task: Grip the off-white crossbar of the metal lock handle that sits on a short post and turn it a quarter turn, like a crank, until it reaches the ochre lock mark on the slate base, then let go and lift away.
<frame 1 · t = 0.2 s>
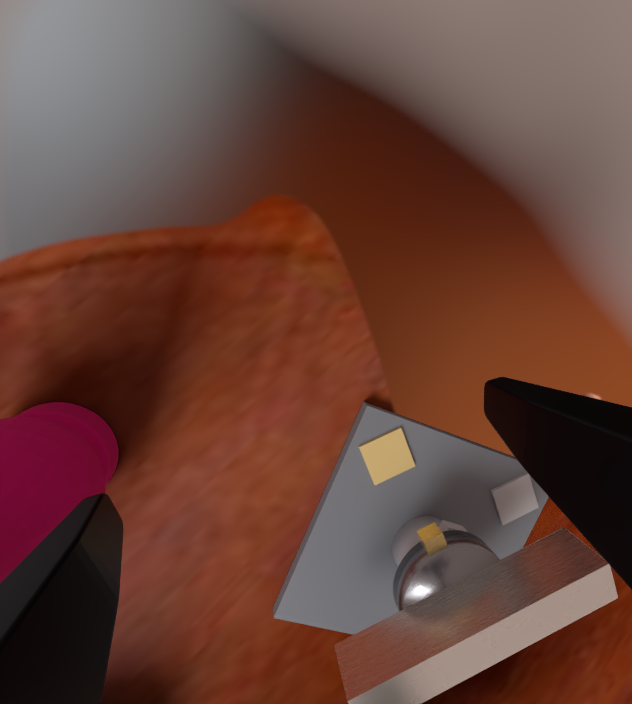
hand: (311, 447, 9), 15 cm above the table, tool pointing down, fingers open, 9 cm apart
pepper mill: (63, 450, 23), on the table
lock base: (416, 536, 28), on the table
lock handle: (462, 603, 22), point 6 cm above the table, hinge at 0.0°
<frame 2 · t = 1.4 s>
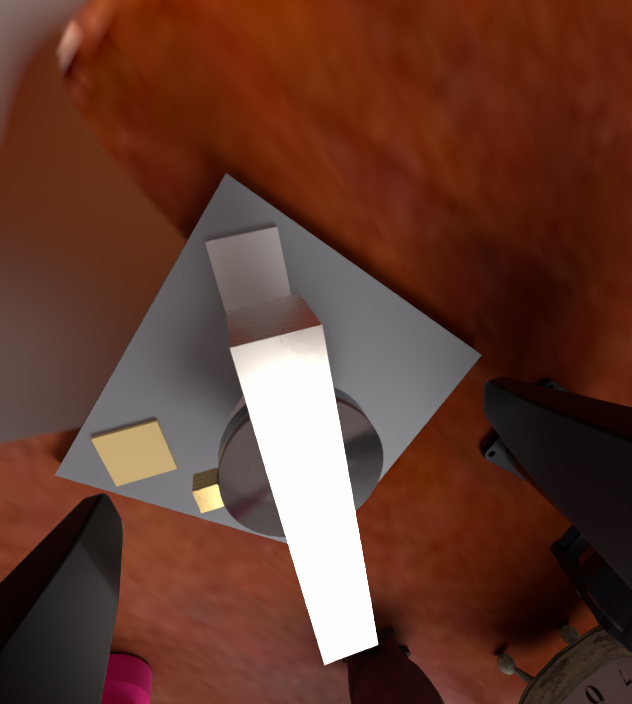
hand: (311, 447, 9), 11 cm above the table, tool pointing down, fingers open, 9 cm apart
tabletop clock: (551, 621, 39), on the table
pepper mill: (104, 678, 27), on the table
mate gourd: (378, 650, 33), on the table
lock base: (282, 402, 21), on the table
lock handle: (296, 491, 15), point 6 cm above the table, hinge at 0.0°
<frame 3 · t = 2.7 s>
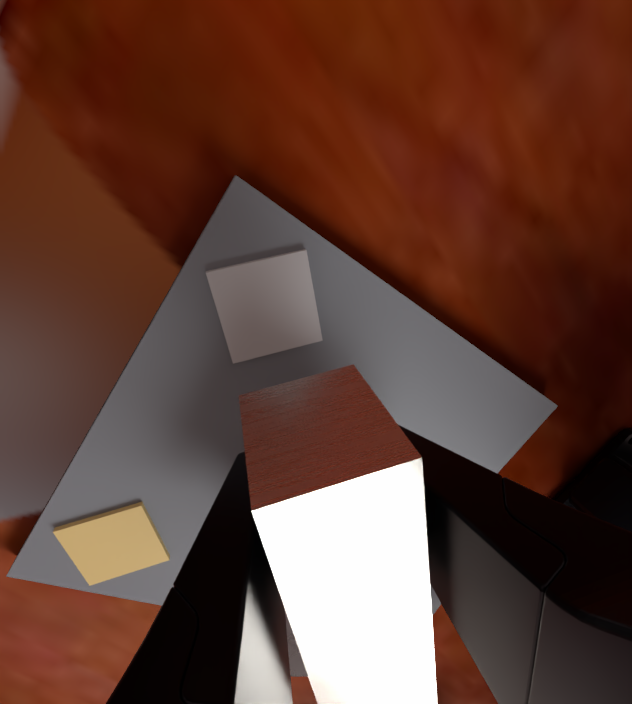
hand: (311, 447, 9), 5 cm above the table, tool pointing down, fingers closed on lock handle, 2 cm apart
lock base: (305, 469, 16), on the table
lock handle: (336, 633, 11), point 6 cm above the table, hinge at 0.0°, touching gripper
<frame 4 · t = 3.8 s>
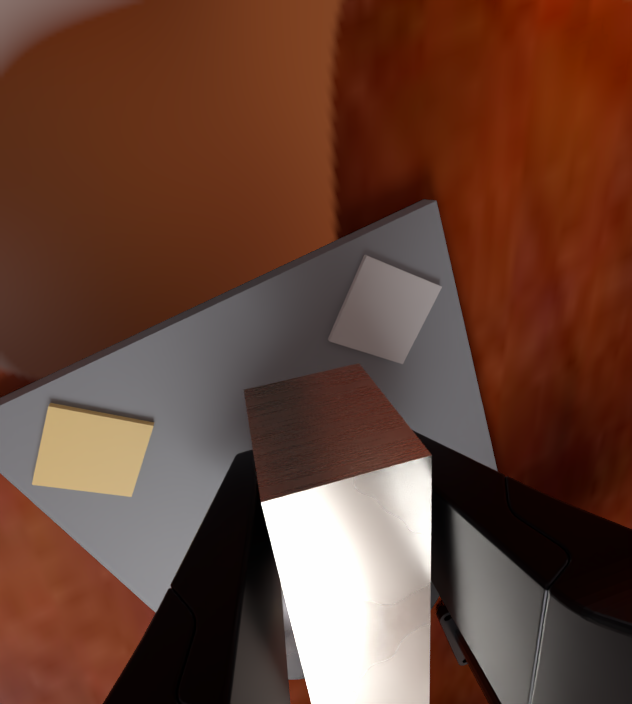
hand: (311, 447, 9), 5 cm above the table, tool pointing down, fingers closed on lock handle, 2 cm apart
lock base: (298, 470, 16), on the table
lock handle: (328, 635, 10), point 6 cm above the table, hinge at 30.1°, touching gripper
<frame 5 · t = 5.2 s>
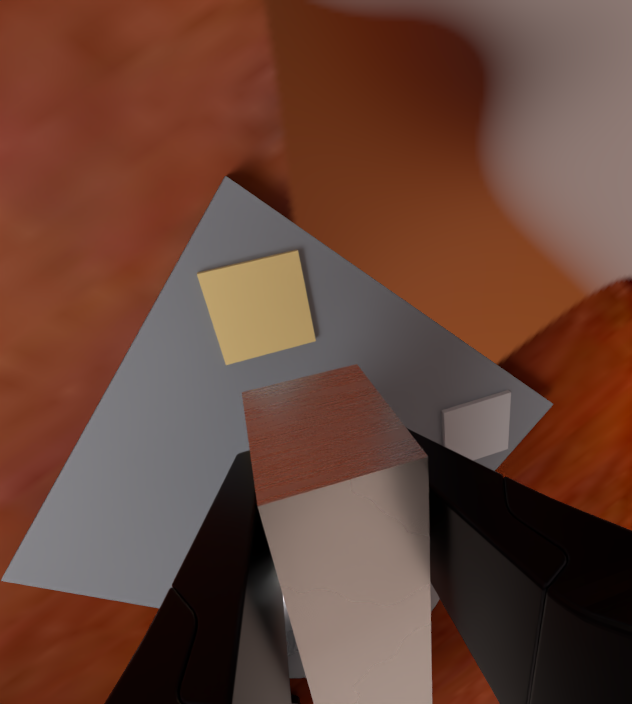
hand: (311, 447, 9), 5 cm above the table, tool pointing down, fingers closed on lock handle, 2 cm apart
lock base: (300, 470, 16), on the table
lock handle: (331, 634, 10), point 6 cm above the table, hinge at 87.8°, touching gripper
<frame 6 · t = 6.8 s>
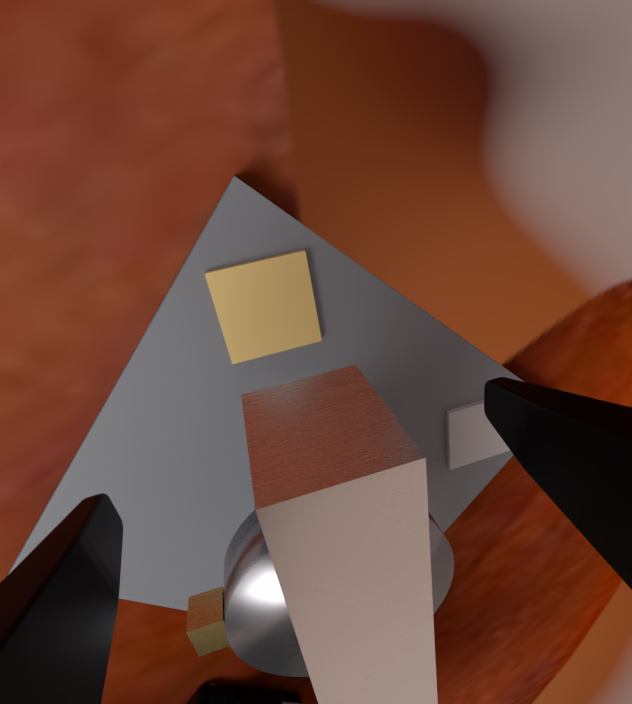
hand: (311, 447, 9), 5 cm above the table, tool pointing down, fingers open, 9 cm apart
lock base: (305, 469, 16), on the table
lock handle: (336, 633, 11), point 6 cm above the table, hinge at 89.4°
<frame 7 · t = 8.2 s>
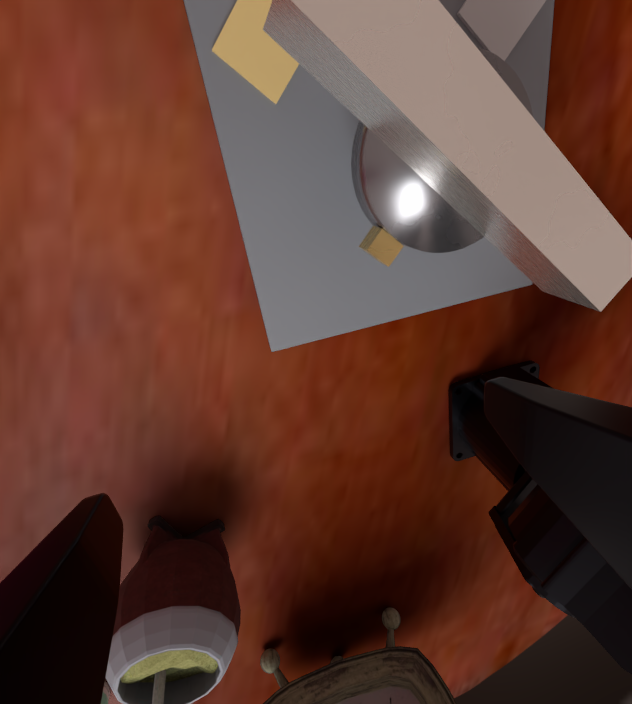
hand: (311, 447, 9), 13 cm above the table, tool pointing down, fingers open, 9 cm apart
tabletop clock: (332, 643, 35), on the table
mate gourd: (183, 547, 27), on the table
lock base: (390, 163, 19), on the table
lock handle: (454, 171, 14), point 6 cm above the table, hinge at 89.4°
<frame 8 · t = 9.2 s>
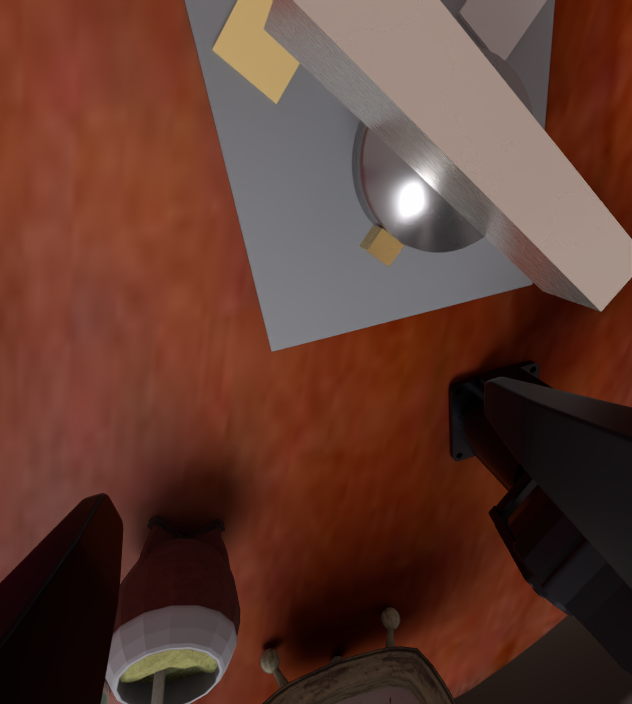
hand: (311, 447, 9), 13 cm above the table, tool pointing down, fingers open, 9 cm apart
tabletop clock: (332, 643, 35), on the table
mate gourd: (182, 546, 27), on the table
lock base: (391, 163, 19), on the table
lock handle: (454, 170, 14), point 6 cm above the table, hinge at 89.4°
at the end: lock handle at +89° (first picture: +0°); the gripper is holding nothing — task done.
